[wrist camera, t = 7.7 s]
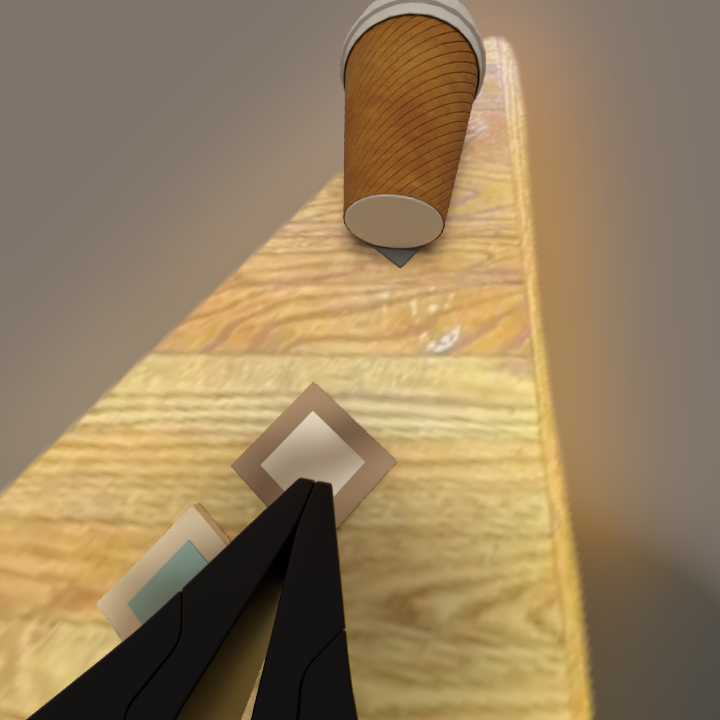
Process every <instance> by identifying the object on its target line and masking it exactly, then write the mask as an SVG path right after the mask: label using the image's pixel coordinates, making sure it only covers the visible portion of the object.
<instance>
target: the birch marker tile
mask: <svg viewBox="0 0 720 720" xmlns="http://www.w3.org/2000/svg"><path fill="white" fill-rule="evenodd" d="M230 542H231V541H230V540H229V538H228V537H227V536H226V535H225V534H224V532H223V531H222V530H221V529H220V528H219V526H218V525H217V524H216V523H215V522H214V521H213V519H212V518H211V517H210V516H209V515H208V513H207V512H206V511H205V510H204V509H203V507H202V506H201V505H200V504H195V505H192V506H191V507H190V508H189V509H188V510H187V511H186V512H185V513H184V514H183V515H182V516H181V517H180V518H179V519H178V520H177V521H176V522H175V523H174V524H173V525H172V526H171V527H170V528H169V529H168V531H167V532H166V533H165V534H164V535H163V536H162V537H161V538H160V539H159V540H158V541H157V542H156V543H155V544H154V545H153V546H152V547H151V548H150V549H149V550H148V551H147V552H146V553H145V554H144V555H143V556H142V557H141V558H140V559H139V560H138V561H137V562H136V563H135V564H134V565H133V566H132V567H131V568H130V569H129V570H128V571H127V572H126V573H125V574H124V575H123V576H122V577H121V578H120V579H119V580H118V582H117V583H116V584H115V585H114V586H113V587H112V588H111V589H110V590H109V591H108V592H107V593H106V594H105V595H104V596H103V597H102V598H101V599H100V600H99V601H98V602H97V603H96V604H97V605H98V607H99V608H100V610H101V611H102V613H103V614H104V616H105V617H106V618H107V620H108V621H109V623H110V624H111V626H112V627H113V629H114V630H115V631H116V633H117V634H118V636H119V637H120V639H121V640H122V642H123V641H124V640H125V639H126V638H128V637H129V636H130V635H131V634H132V633H134V632H135V631H136V630H137V629H138V628H139V627H140V626H142V625H143V624H144V623H145V622H146V621H147V620H148V619H149V618H150V617H151V616H153V615H154V614H155V613H156V612H157V611H158V610H159V609H160V608H161V607H163V606H164V605H165V604H166V603H167V602H168V601H169V600H170V599H171V598H172V597H173V596H174V595H175V594H176V593H177V592H178V591H182V588H183V587H184V586H185V585H186V584H187V583H188V582H189V581H190V580H191V579H192V578H193V577H194V576H195V575H196V574H198V573H199V572H200V571H201V570H202V569H203V568H204V567H205V566H206V565H207V564H208V563H209V562H210V561H211V560H212V559H213V558H214V557H216V556H217V555H218V554H219V553H220V552H221V551H222V550H223V549H224V548H225V547H226V546H227V545H228V544H229V543H230Z"/></svg>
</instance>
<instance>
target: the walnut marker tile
mask: <svg viewBox="0 0 720 720" xmlns="http://www.w3.org/2000/svg"><path fill="white" fill-rule="evenodd" d="M395 462H396V460H395V459H394V458H393V457H392V456H391V455H390V454H389V453H388V452H387V451H386V450H385V449H384V448H382V447H381V446H380V445H379V444H378V443H377V442H376V441H375V440H374V439H373V438H372V437H371V436H370V435H369V434H368V433H367V432H366V431H365V430H364V429H362V428H361V427H360V426H359V425H358V424H357V423H356V422H355V421H354V420H353V419H352V418H351V417H350V416H349V415H348V414H347V413H346V412H345V411H344V410H342V409H341V408H340V407H339V406H338V405H337V404H336V403H335V402H334V401H333V400H332V399H331V398H330V397H329V396H328V395H327V394H326V393H325V392H324V391H322V390H321V389H320V388H319V387H318V386H317V385H316V384H315V383H314V382H313V383H312V384H311V385H310V386H309V387H308V388H307V389H306V390H305V391H304V392H303V393H302V394H301V395H300V396H299V397H298V398H297V399H296V400H295V401H294V402H293V403H292V404H291V405H290V406H289V407H288V408H287V409H286V410H285V411H284V412H283V413H282V414H281V415H280V416H279V417H278V418H277V419H276V420H275V421H274V422H273V423H272V424H271V425H270V426H269V428H268V429H267V430H266V431H265V432H264V433H263V434H262V435H261V436H260V437H259V438H258V439H257V440H256V441H255V442H254V443H253V444H252V445H251V446H250V447H249V448H248V449H247V450H246V451H245V452H244V453H243V454H242V455H241V456H240V457H239V458H238V459H237V460H236V461H235V462H234V463H233V464H232V465H231V467H232V468H233V469H234V470H235V471H236V473H237V474H238V475H239V476H240V477H241V478H242V479H243V480H244V481H245V483H246V484H247V485H248V486H249V487H250V488H251V489H252V490H253V491H254V493H255V494H256V495H257V496H258V497H259V498H260V499H261V500H262V501H263V503H264V504H265V505H266V506H267V507H268V506H269V505H271V504H272V503H273V502H274V501H275V500H276V499H277V498H278V497H279V496H280V495H281V494H282V493H283V492H284V491H285V490H286V489H287V488H288V487H290V486H291V485H292V484H293V483H294V482H295V481H296V480H297V479H298V478H300V477H303V478H308V479H313V480H315V482H316V481H324V482H329V483H331V484H332V486H333V496H334V506H335V517H336V528H338V527H339V526H340V524H341V523H342V522H343V521H344V520H345V519H346V518H347V517H348V515H349V514H350V513H351V512H352V511H353V510H354V509H355V508H356V506H357V505H358V504H359V503H360V502H361V501H362V500H363V498H364V497H365V496H366V495H367V494H368V493H369V492H370V491H371V489H372V488H373V487H374V486H375V485H376V484H377V483H378V481H379V480H380V479H381V478H382V477H383V476H384V475H385V474H386V472H387V471H388V470H389V469H390V468H391V467H392V466H393V464H394V463H395Z"/></svg>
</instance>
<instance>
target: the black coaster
mask: <svg viewBox="0 0 720 720" xmlns="http://www.w3.org/2000/svg"><path fill="white" fill-rule="evenodd" d="M367 243H368V242H367ZM369 244H370V245H371V246H373V247H374V248H375V249H376V250H378V251H379V252H380V253H381V254H383V255H384V256H385V257H387V258H388V259H389V260H390V261H392V262H393V263H394V264H396V265H397V266H398V267H399V268H401V267H402V266H403V265H404V264H405V263H406V262H407V261H408V260H409V259H410V258H411V257H412V256H413V255H414V254H415V253H416V252H417V251H418V250H419V249H420V248H421V247H422V246H423V245H422V246H417V247H411V248H388V247H382V246H378V245H374V244H371V243H369Z"/></svg>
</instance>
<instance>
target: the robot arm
mask: <svg viewBox="0 0 720 720" xmlns="http://www.w3.org/2000/svg"><path fill="white" fill-rule="evenodd" d="M345 628H346V625H345V614H344V603H343V593H342V582H341V571H340V560H339V550H338V539H337V528H336V517H335V506H334V496H333V486H332V484H331V483H329V482H324V481H316V482H315V480H313V479H308V478H303V477H300V478H298V479H297V480H296V481H295V482H294V483H293V484H292V485H291V486H290V487H288V488H287V489H286V490H285V491H284V492H283V493H282V494H281V495H280V496H279V497H278V498H277V499H276V500H275V501H274V502H273V503H272V504H271V505H269V506H268V507H267V508H266V509H265V510H264V511H263V512H262V513H261V514H260V515H259V516H258V517H257V518H256V519H255V520H254V521H253V522H251V523H250V524H249V525H248V526H247V527H246V528H245V529H244V530H243V531H242V532H241V533H240V534H239V535H238V536H237V537H236V538H235V539H234V540H232V541H231V542H230V543H229V544H228V545H227V546H226V547H225V548H224V549H223V550H222V551H221V552H220V553H219V554H218V555H217V556H216V557H214V558H213V559H212V560H211V561H210V562H209V563H208V564H207V565H206V566H205V567H204V568H203V569H202V570H201V571H200V572H199V573H198V574H196V575H195V576H194V577H193V578H192V579H191V580H190V581H189V582H188V583H187V584H186V585H185V586H184V587H183V588H182V591H178V592H177V593H176V594H175V595H174V596H173V597H172V598H171V599H170V600H169V601H168V602H167V603H166V604H165V605H164V606H163V607H161V608H160V609H159V610H158V611H157V612H156V613H155V614H154V615H153V616H151V617H150V618H149V619H148V620H147V621H146V622H145V623H144V624H143V625H142V626H140V627H139V628H138V629H137V630H136V631H135V632H134V633H132V634H131V635H130V636H129V637H128V638H126V639H125V640H124V641H123V642H122V643H120V644H119V645H118V646H117V647H116V648H114V649H113V650H112V651H111V652H109V653H108V654H107V655H106V656H105V657H103V658H102V659H101V660H100V661H98V662H97V663H96V664H95V665H93V666H92V667H91V668H90V669H88V670H87V671H86V672H85V673H83V674H82V675H81V676H80V677H79V678H77V679H76V680H75V681H74V682H72V683H71V684H70V685H69V686H67V687H66V688H65V689H64V690H62V691H61V692H60V693H59V694H57V695H56V696H55V697H54V698H52V699H51V700H50V701H49V702H47V703H46V704H45V705H44V706H42V707H41V708H40V709H39V710H37V711H36V712H35V713H34V714H32V715H31V716H30V717H29V718H27V719H26V720H241V718H242V715H243V713H244V710H245V708H246V705H247V702H248V700H249V697H250V695H251V692H252V690H253V687H254V684H255V682H256V679H257V677H258V674H259V671H260V669H261V666H262V664H263V661H264V658H265V656H266V658H265V663H264V667H263V671H262V675H261V679H260V683H259V688H258V692H257V696H256V700H255V704H254V709H253V713H252V717H251V720H358V716H357V710H356V704H355V699H354V693H353V687H352V680H351V671H350V663H349V655H348V645H347V634H346V631H345ZM266 653H267V654H266Z"/></svg>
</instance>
